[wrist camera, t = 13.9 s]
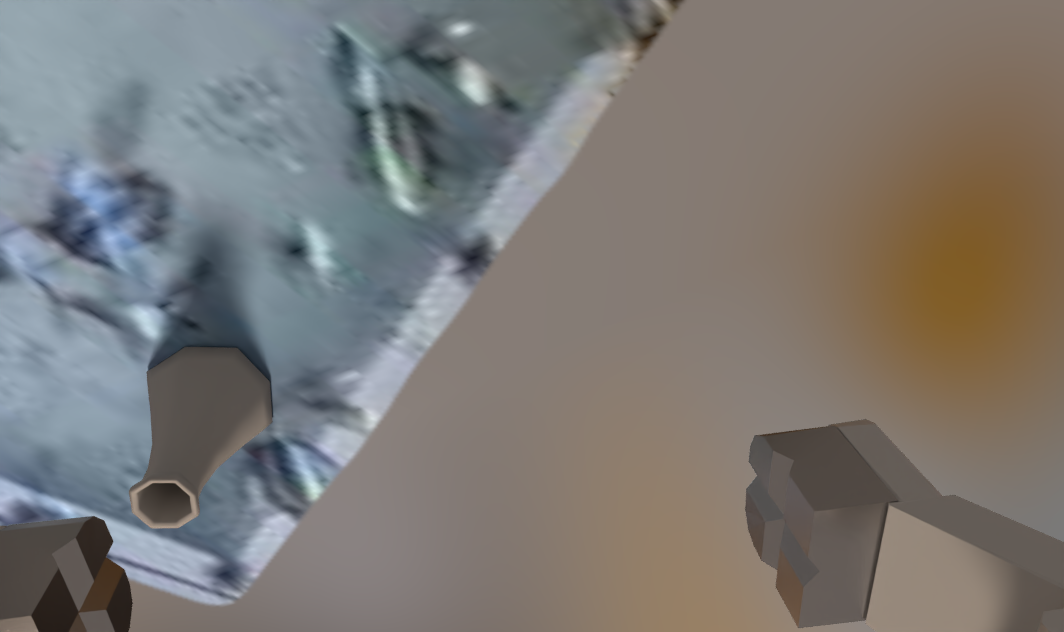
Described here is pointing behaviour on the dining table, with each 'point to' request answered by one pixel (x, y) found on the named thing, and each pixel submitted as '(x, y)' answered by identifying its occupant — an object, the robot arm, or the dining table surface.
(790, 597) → the robot arm
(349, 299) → the dining table surface
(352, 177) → the dining table surface
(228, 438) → the flask
